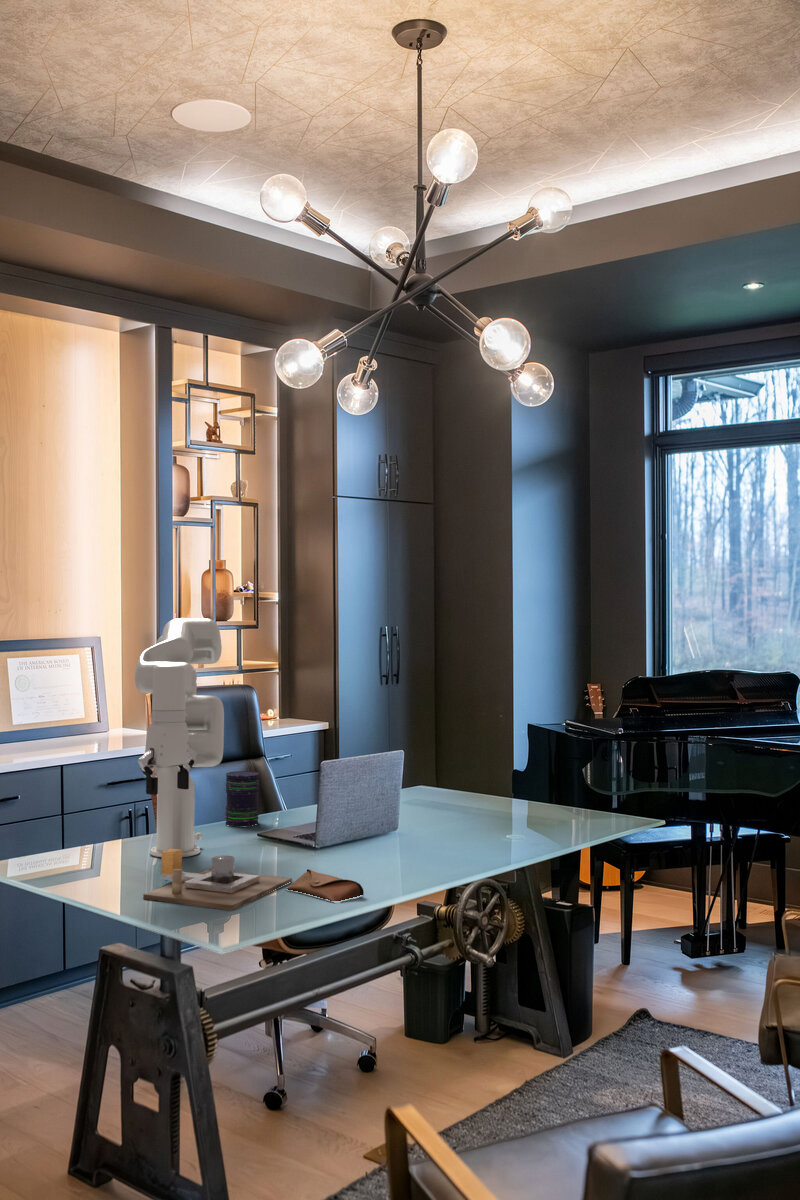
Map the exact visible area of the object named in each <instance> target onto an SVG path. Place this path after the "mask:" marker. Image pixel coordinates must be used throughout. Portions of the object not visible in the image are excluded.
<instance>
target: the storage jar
mask: <svg viewBox="0 0 800 1200" xmlns="http://www.w3.org/2000/svg"><path fill="white" fill-rule="evenodd" d="M259 776H260V773H259V772H257V771H245V770H244V771H243V770H240V771H238V770H237V771H230V772H226V774H225V777H226V779H225V794H226V806H225V811H224V812H225V813H224V815H225V826H227V825H229V826H228V827H230V826H251V827H253V826H252V825H255V824H258V825H259V816H260V811H259V792H260V791H259V790H260V777H259Z"/></svg>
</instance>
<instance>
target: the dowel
mask: <svg viewBox="0 0 800 1200" xmlns="http://www.w3.org/2000/svg"><path fill="white" fill-rule="evenodd" d="M182 872H183V868H182V869H173V870H172V880H171V881H172V883H171V884H172V894H181V893H182Z"/></svg>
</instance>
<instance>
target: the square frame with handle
mask: <svg viewBox="0 0 800 1200" xmlns="http://www.w3.org/2000/svg"><path fill="white" fill-rule="evenodd" d="M173 869H182V870H183V857H182V850H179V849H168V850H165V851H162V857H161V871H160V872H161V873H160V874H161V877H160V878H161V880H166V881H172V870H173ZM241 873H242V872H240V873H234V882H231V883H229V884H224V883H216V882H211V872H209V873H206V874H198V873H196V872H186V871H182V882H184V887H185V888H193V889H202V890H210V891H218V892H226V893H233V892H235V891H238V890H240V889H242V888H244V887H247V886H249V885H251V884H254V883H256V882H258V881H260V876H259V875H260V874H258V875H250V874H251V873H249V874H241Z"/></svg>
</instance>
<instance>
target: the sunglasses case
mask: <svg viewBox="0 0 800 1200" xmlns="http://www.w3.org/2000/svg"><path fill="white" fill-rule="evenodd" d="M285 889H288V890H293V891H298V892H302V893H306V894H310V895H313V896H317V897H320V898H323V899H328V900H330V901H341V900H345V899H349V898H353V897H357V896H360V895H363V896H364V894H365V893H364V888H363V886H362V884H360V883H359V882H357V881H354V880H352V879H351V880H350V879H344V878H340V877H337V876H333V875H329V874H325V873H321V872H317V871H313V870H312V869H309V868H308V869H306V871H305V872H304V873H303V874H301V876H299V878H297V879H296V880H295V881H293V882H292V883H290V884H289V886H288V887H286V888H285Z"/></svg>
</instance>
